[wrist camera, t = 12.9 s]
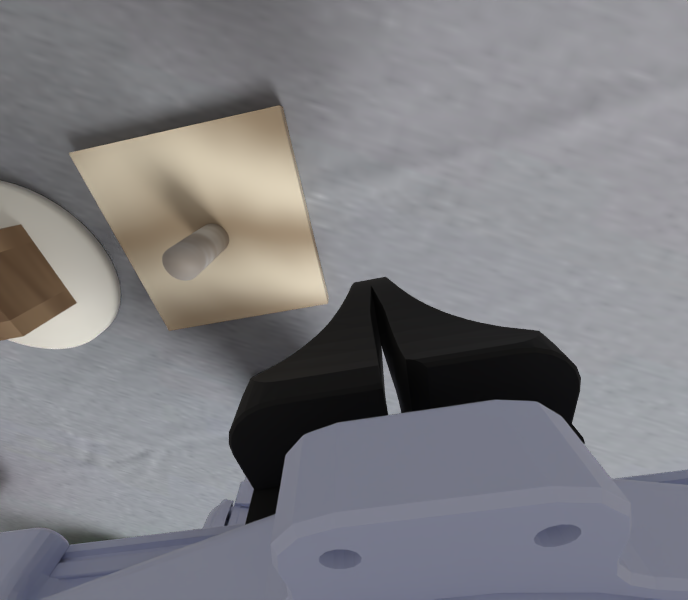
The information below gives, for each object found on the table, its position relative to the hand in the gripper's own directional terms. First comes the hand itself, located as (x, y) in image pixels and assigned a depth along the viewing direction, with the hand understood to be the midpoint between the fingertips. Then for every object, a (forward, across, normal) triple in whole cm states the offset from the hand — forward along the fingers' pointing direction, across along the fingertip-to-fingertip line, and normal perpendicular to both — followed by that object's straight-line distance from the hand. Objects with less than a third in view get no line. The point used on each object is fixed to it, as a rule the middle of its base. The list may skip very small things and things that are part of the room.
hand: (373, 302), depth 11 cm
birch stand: (+9, +9, -2) cm, 13 cm away
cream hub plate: (+9, +23, -2) cm, 25 cm away
